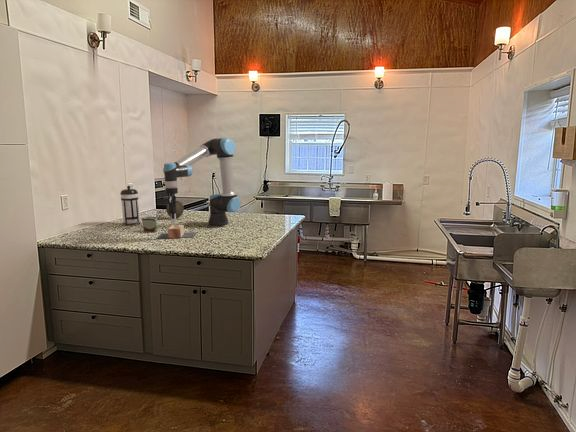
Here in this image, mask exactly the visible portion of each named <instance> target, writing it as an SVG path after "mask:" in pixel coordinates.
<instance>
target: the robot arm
mask: <svg viewBox="0 0 576 432" xmlns="http://www.w3.org/2000/svg"><path fill="white" fill-rule="evenodd" d="M236 149H237V148H236V144H235V142H234V141H233V140H232V139H231V138H227V137H224V138H222V137H221V138H220V137H219V138H217V137H216V138H211V139H210V140H207V141H206V142H204V143H202V144H201V145H199V147H198V148H196V149H195V150H194V151H192V152H190V153H188V154H186V155H185V156H183V157H181V158H180V159H178V160H176V161H174V162H172V163H171V162H169V163H168V162H167V163H164V164H163V169H162V170H163V171H162V172H163V174H164V183H163V184H164V187H165V194H166V195H168V199H167V201H168V203H169V209H170V214H171V217H170V219H171V220H170V221H171V224H173V225H177V218H176V213H177V212H176V201H177V196H176V195H177V194H178V193H179V191H178V178H188V177H191V176H192V175H193V173H194V170H193V167H192V166H193V165H194V164H196V163H197V162H200V161H201V160H202V159H204V158H208V157H209V158H210V157H211V156H213V155H214V156H215V155H216V159H218V161H219V167H220V168H219V169H220V177H221V178H220V179H221V188H222V193H217V194H210V195H209V209H210V210H209V212H210V213H209V214H210V215H209V219H208V225H209V226H226V225H228V224H229V219H228V216H227V214H226V213H230V214H231V213H232V214H233V213H237V212H238V211H239V209H240V208H241V204H242V202H241V198H239V197H238V194H237V192H236V191H235V182H234V171H233V163H232V160H233V157H234V155H235V152H236Z"/></svg>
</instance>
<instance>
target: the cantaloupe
mask: <svg viewBox="0 0 576 432" xmlns="http://www.w3.org/2000/svg"><path fill="white" fill-rule="evenodd" d="M184 209H185V208H184V204H183V203H182V202H181V201H179V200H176V212H177V213H176V219H178V218H180V217H182V215H183V214H184V211H185V210H184ZM165 211H166V213H167V215H168V216H169V217H170V218H171V214H170V209H169V202H168V203H167V205H166V210H165Z"/></svg>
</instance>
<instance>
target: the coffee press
mask: <svg viewBox="0 0 576 432" xmlns="http://www.w3.org/2000/svg"><path fill="white" fill-rule="evenodd" d="M126 188H127V189H126ZM126 188H125V189H121V191H120V193H119V194H120V201H121V210H122V211H121V212H122V222H123V225H124V227H127V226H128V225H130V224H131V225H133V224H137V226H138V225H141V222H140V220H141V219H140V209H139V195H138V194H139V192H138V190H137V189H135V188H131V186H130V185H127V187H126Z"/></svg>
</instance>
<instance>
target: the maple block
mask: <svg viewBox="0 0 576 432" xmlns="http://www.w3.org/2000/svg"><path fill="white" fill-rule="evenodd" d="M167 233H168V238H167V239H182V238H181V237H182V236H183V234H184V233H185V226H184V225H183V224H173V225H171V226H170V227H169V228H167Z"/></svg>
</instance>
